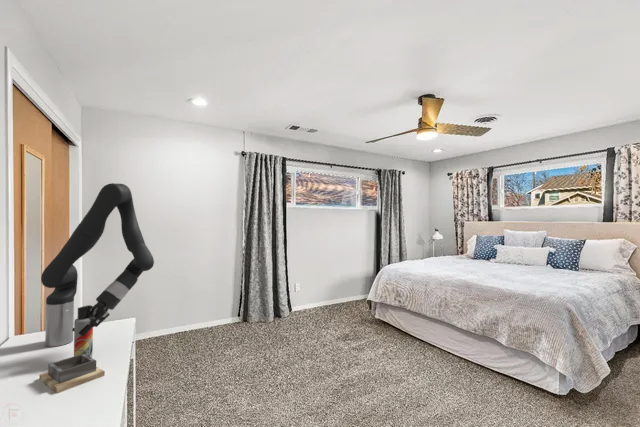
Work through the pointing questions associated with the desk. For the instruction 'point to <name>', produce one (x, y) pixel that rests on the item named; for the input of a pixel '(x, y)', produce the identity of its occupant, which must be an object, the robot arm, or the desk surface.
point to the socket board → (71, 372)
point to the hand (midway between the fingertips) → (77, 333)
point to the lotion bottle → (85, 342)
